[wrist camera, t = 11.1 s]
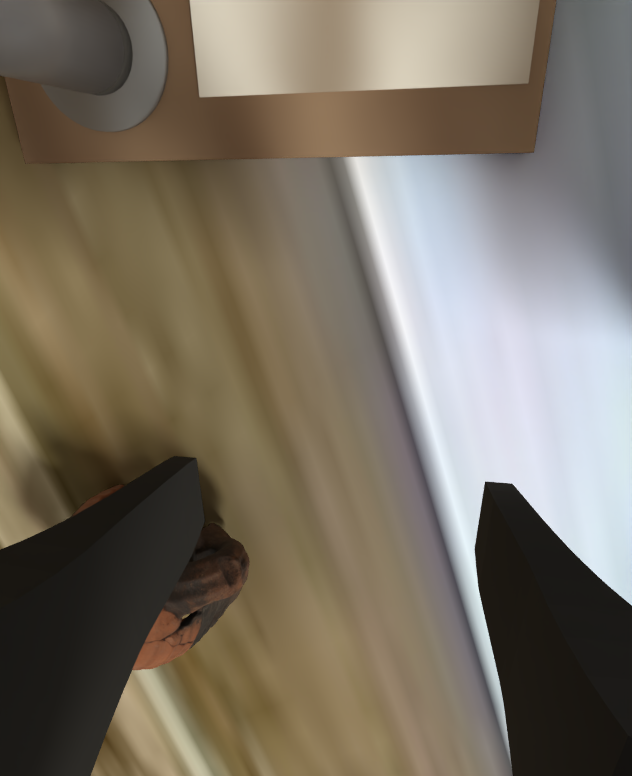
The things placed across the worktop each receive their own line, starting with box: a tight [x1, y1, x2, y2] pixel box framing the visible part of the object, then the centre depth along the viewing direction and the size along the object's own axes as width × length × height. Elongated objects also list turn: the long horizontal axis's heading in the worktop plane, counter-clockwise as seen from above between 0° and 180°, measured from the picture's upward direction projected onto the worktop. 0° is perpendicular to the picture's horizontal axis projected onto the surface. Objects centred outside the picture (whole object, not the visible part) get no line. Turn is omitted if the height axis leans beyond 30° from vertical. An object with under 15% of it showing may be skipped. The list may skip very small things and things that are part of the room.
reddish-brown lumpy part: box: [71, 485, 249, 670], centre depth 26 cm, size 12×10×8 cm
